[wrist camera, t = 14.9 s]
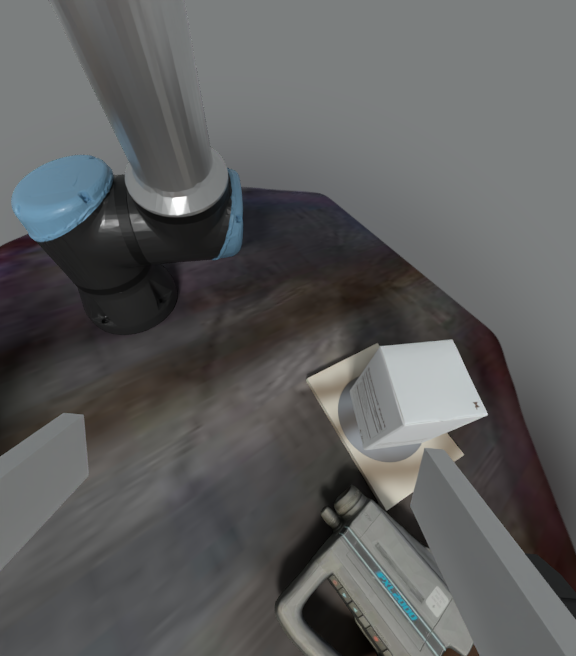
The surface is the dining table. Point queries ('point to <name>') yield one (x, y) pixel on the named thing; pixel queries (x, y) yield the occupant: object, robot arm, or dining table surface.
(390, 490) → the board
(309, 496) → the dining table surface
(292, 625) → the camcorder
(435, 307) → the dining table surface
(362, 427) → the supplement box
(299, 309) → the dining table surface
